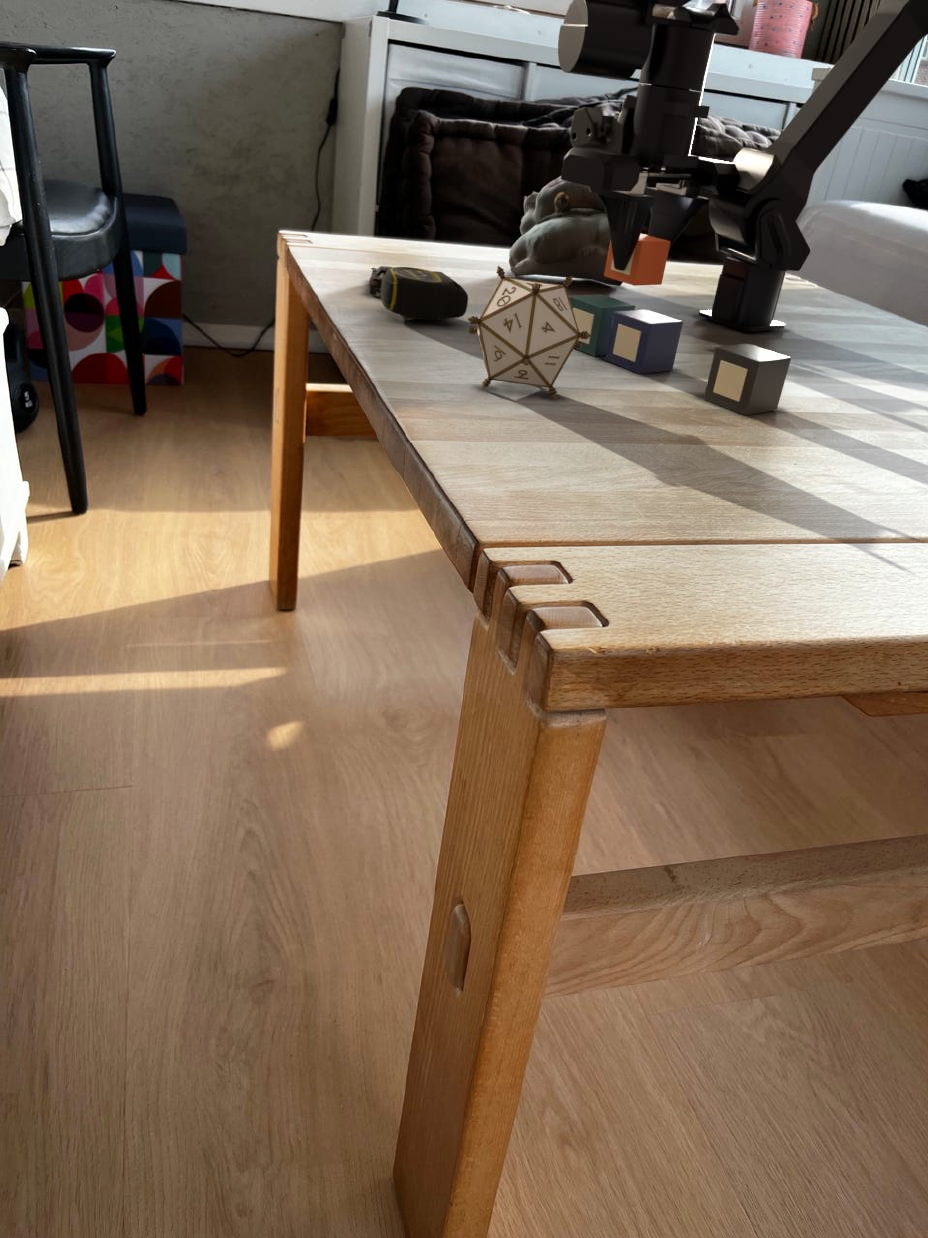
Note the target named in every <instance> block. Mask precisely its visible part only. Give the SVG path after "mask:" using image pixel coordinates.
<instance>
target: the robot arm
mask: <svg viewBox="0 0 928 1238" xmlns="http://www.w3.org/2000/svg"><path fill="white" fill-rule="evenodd" d="M691 1H692V0H572V1H571V3H570V4H569V6H568V8H567V10H566V13H565V16H564V20H563V23H562V24H561V25H560V27H559V32H558V40H557V56H558V58H557V59H558V63H559V66H560V69H561V71H562V72H564V73H566V74H573V75H580V76H587V77H595V78H601V79H608V80H615V81H623V82H625V81H628V80H630V79H631V77H632V76H633V75H635V73H636V71H638V70H640V75H639V80H638V85H637V91H636V95H634V94H626V97H625V98H624V99H623V100H622V105H621V110H620V113H618V114H616V115H615V114H614V115H602V113H601V110H600V109H599V108H597V107H587V106H584V107H581V108H578V109H576V110H574V113H573V118H572V122H571V126H570V132H569V133H570V139H569V140H570V144H571V145H572V148H570V150H569V151H568V152H567V153H566V154H565V155H564V156H563V163H562V167H561V173H560V174H561V175H560V176H561V180H565V181H569V182H573V183H577V184H582V185H586V186H588V188H589V191H590V192H593V193H596V195H597V196H598V198H599V199H600V201H601V202H602V204H603V205H604V207H605V210H606V215H607V219H608V224H609V231H610V239H611V246H612V254H613V262H614V267H615V269H617V270H620V271H624V270H625V269H626V267H627V265H628V263H629V261H630V259H631V256H632V254H633V252H634V249H635V247H636V244H637V242H638V239H639V237H640V234H642V231H643V228H644V226H645V223H646V221H647V218H648V216H649V214H650V219H649V226H648V232H647V233H648V234H647V235H649V236H652V237H656V238H660V239H663V240H667V241H670V247H669V250H670V249H671V248H672V246H673V245H674V244H675V243H676V240H677V239H678V238H679V237H680V236H681V234H682V232H683V231H684V230H685V229H686V227H687V226H688V225H689V223H690V222H691V221H692V220H693V219H694V217H695V216H696V215H697V214H698V213H699V211H700V210H701V209H702V207H703V206H704V205H708V207H709V214H708V215H709V221H710V224H711V227H712V228H713V230H714V237H715V249H716V251H718V252H720V253H725V254H727V256H726V257H724V260H723V265H722V268H721V273H720V274H719V277H718V281H717V285H716V290H715V294H714V297H713V303H712V306H711V309H710V310H709V309H708V310H700V311H698V316H699V317H700V318H705V319H707V320H710V321H713V322H716V323H719V324H722V325H725V326H729V327H732V328H734V329H738V330H741V331H744V332H747V333H748V332H749V333H750V332H751V333H753V332H761V331H764V332H765V331H772V330H783V329H785V328H786V323H784V322H781V321H778V320H774V317H775V314H776V310H777V307H778V303H779V300H780V299H779V298H780V295H781V292H782V288H783V285H784V281H785V278H786V277H785V276H786V273H787V271H788V272H789V271H793V272H799V271H800V270H801V269H802V268H803V266H804V264H805V262H806V261H807V258H808V257H809V256H810V253H811V248H810V246H809V244H808V242H807V240H806V238H805V236H804V235H803V233H802V231H801V229H800V226H799V225H798V222H797V221H798V219H799V218H800V216H801V214H802V213H803V211H804V209H805V208H806V206H807V204H808V200H809V195H810V192H811V187H812V183H813V180H814V176H815V174H816V172H817V170H818V169H819V168H820V166H821V165H822V164H823V163H824V161H825V160H826V159H827V158H828V156H829V155H830V154H831V153H832V151H833V150H834V149H835V148H836V146H837V145H838V144H839V142H841V140H842V139H843V138H844V136H846V134H847V133H848V132H849V130H850V129H851V127H852V126H853V125H854V124H855V123H856V122H857V120H858V119H859V118H860V117H861V115H862V114H863V113H864V112H865V110H866V109H867V108H868V106H869V105H870V104H871V103H872V101H873V100H874V99H875V98H876V96H877V95H878V94H879V92H880V91H881V90H882V89H883V88H884V86H886V84H887V83H888V81H890V79H891V77H892V76H893V75H894V74H895V72H896V71H897V70H898V69H899V67H900V66H901V65H902V64H903V63H904V61H905V60H906V59H907V58H908V56H909V55H910V54H911V53H912V52H913V50H914V49H915V48H916V46H917V45H918V44H919V43H920V42H921V41H922V40H923V39H924V38H925V37H926V36H928V0H880V1H879V5H878V8H877V9H876V11H875V12H874V14H873V15H872V17H871V18H870V19H869V20H868V22H867V23H866V24H865V25H864V27H863V28H862V29H861V31H860V32H859V33H858V34H857V35H856V37H855V38H854V39H853V41H852V42H851V43H850V45H849V46H848V48H846V50H845V51H844V52H843V54H842V55H841V56H840V58H839V59H838V60H837V62H836V63H835V64H834V65H833V67H832V68H831V69H830V71H829V72H828V73H827V74H826V75H825V77H824V78H823V79H822V81H821V82H820V83H819V85H818V86H817V87H816V88H815V90H814V91H813V92H812V93H811V94H810V96H809V97H808V99H806V101H805V103H803V105H802V106H801V108H800V109H799V110H798V112H797V113H796V114H795V115H794V117H793V118H792V119H791V120H790V121H789V123H788V124H787V125H786V126H785V128H784V129H783V131H782V132H781V133H780V134H779V136H778V137H777V139H775V141H773V143H771V144H770V145H769V146H767V147H765V148H764V149H762V150H758V149H754V148H750V147H745V146H743V147H742V148H741V149H740V150H739V152H737V154H736V155H735V157H734V159H733V160H732V162H729V161H724V160H720V159H714V158H710V157H704V156H699V155H694V154H691V150H692V146H693V145H692V144H693V141H694V135H695V131H696V126H697V122H698V119H705V120H708V117H709V113H710V108H711V106H710V105H703V104H701V103H702V99H703V93H704V88H705V83H706V78H707V74H708V68H709V64H710V59H711V55H712V50H713V45H714V40H715V36H729V37H737V36H738V35H739V34H740V33H741V32H740V31H741V29H740V26H739V25H738V24H737V22H736V20H735V19H734V18H733V16H732V15H731V13H730V11H729V8H728V4H727V3H726V2H712V3H711V4H710V5H709V6H708V7H707V8H706V9H699V8H693V7H687V6H685V5H686V4H688V3H689V2H691ZM654 8H674V9H673V10H672V11H671V12H670V13H669V14H668V16H667V17H662V16H656V15H653V13H654ZM647 184H656V185H655V187H649V186H648V187H647ZM701 189H702V190H705V191H706V190H707V191H711V192H712V195H711V196H710V198H708V197H705V196H700V192H701ZM645 193H646V194H645ZM650 211H651V213H650Z"/></svg>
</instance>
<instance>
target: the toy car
mask: <svg viewBox="0 0 928 1238" xmlns="http://www.w3.org/2000/svg"><path fill="white" fill-rule="evenodd" d="M394 267H395V266H387V265H382V266H381V265H380V266H379V267H378V268H377V267H372V268H371V270H372V272H371V275H370V278H369V281H368V288H369V294H370V295H376V296H377V293H379V294H381V285H382V279H383V277H384V276H385V274H386V271H387V270H388V269H391V268H394Z"/></svg>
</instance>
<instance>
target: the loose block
mask: <svg viewBox="0 0 928 1238" xmlns="http://www.w3.org/2000/svg"><path fill="white" fill-rule="evenodd" d="M669 247H670V241H667V240H663V239H660V238H656V237H652V236H649V235H648V234H646V233H645V234H644V233H641V234H640V237H639V239H638V242H637V244H636V247H635V249H634V252H633V254H632V256H631V259H630V261H629V263H628V265H627V267H626V269H625V270H624V271H620V270H617V269H615V267H614V262H613V254H612V246H611V241H610V246H609V252H608V257H607V262H606V268H605V273H604V276H605V277H609V278H612V279H615V280H618V281H621V282H623V283H624V284H628V285H631V286H634V287H637V286H659V285H663V280H664V274H665V269H666V265H667V260H668V256H669V250H670V249H669Z"/></svg>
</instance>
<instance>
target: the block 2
mask: <svg viewBox="0 0 928 1238" xmlns="http://www.w3.org/2000/svg"><path fill="white" fill-rule="evenodd" d="M683 324H684V321H682V320H680V319H677V318H673V317H671V316H668V315H665V314H661V313H659V312H655V311H652V310H650V309H646V308H645V309H635V310H631V311H616V312H614V316H613V321H612V326H611V332H610V337H609V342H608V347H607V353H606V355H605V359H604V360H605V361H606V362H608V363H611V364H614V365H615V366H618V367H622V368H624V369H627V370H629V371H631V372H634V373H636V374H639V375H644V374H652V373H659V372H668V371H673V369H674V364H675V361H676V360H675V359H676V356H677V351H678V346H679V341H680V337H681V332H682V329H683Z"/></svg>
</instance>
